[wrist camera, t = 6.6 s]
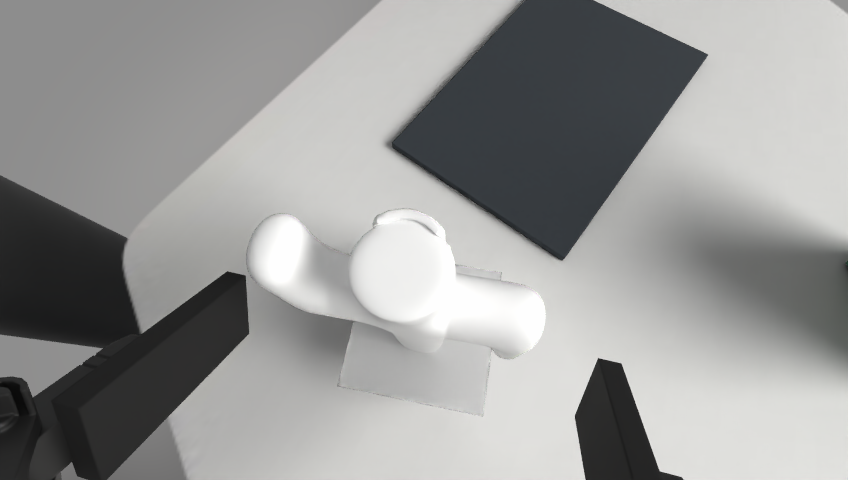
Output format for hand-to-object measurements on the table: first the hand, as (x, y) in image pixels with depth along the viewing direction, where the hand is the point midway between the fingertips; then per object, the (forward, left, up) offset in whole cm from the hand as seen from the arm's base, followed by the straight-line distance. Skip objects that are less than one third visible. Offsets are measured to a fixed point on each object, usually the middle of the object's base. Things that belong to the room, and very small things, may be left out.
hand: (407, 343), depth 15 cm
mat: (+12, +16, -9) cm, 23 cm away
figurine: (0, +1, -10) cm, 10 cm away
